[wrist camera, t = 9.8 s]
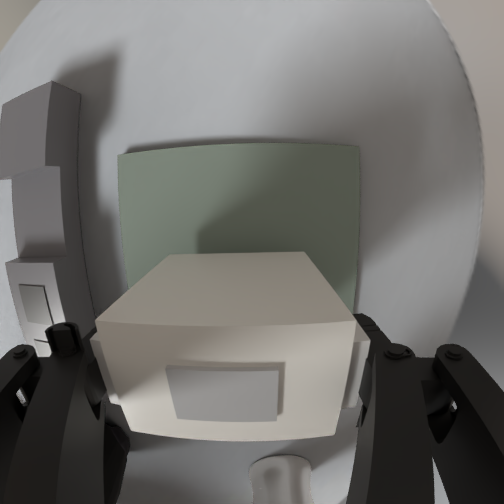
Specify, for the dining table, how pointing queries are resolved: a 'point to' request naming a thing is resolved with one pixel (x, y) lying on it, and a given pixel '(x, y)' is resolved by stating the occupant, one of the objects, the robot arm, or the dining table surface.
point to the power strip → (45, 212)
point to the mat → (243, 205)
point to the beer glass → (281, 480)
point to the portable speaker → (114, 462)
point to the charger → (230, 348)
